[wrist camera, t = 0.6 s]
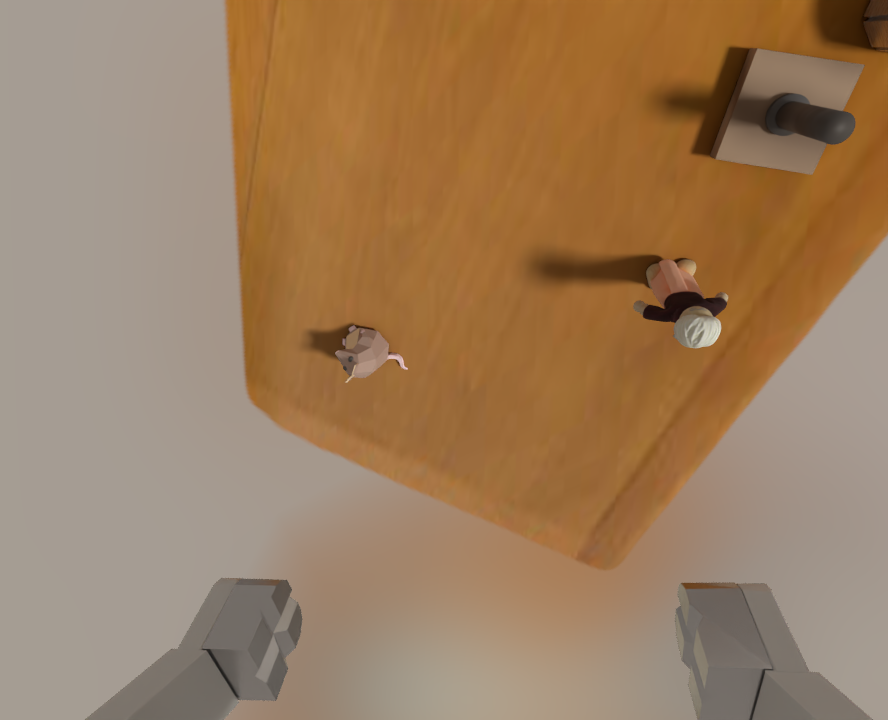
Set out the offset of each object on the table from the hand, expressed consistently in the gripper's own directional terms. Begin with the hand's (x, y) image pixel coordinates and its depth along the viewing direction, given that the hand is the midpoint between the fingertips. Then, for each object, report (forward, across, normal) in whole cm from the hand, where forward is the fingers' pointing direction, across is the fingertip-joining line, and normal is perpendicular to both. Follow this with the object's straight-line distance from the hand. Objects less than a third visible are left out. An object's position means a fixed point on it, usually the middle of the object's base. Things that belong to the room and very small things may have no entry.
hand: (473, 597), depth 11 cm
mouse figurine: (+44, +16, +18) cm, 50 cm away
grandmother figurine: (+44, -14, +12) cm, 47 cm away
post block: (+43, -22, -2) cm, 49 cm away
